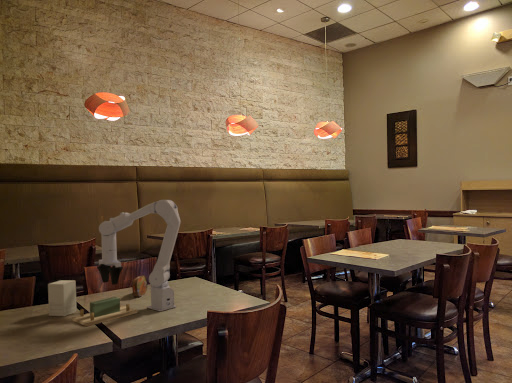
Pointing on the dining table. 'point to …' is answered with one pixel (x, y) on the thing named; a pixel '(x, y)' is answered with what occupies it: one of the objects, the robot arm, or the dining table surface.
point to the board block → (105, 306)
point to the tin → (139, 286)
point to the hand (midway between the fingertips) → (110, 283)
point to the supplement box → (62, 297)
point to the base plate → (91, 320)
